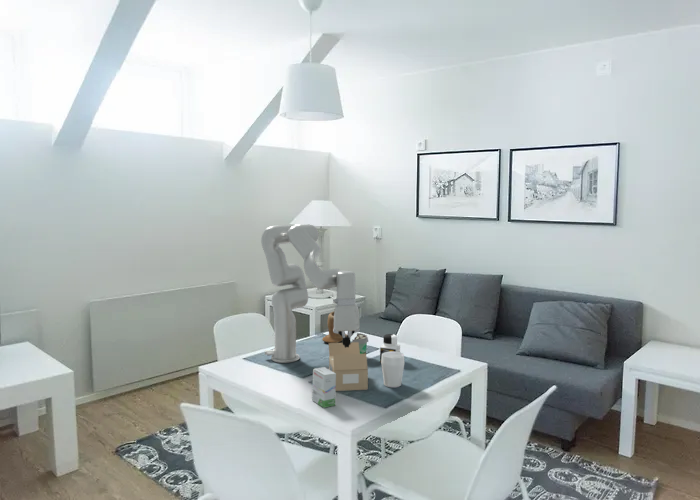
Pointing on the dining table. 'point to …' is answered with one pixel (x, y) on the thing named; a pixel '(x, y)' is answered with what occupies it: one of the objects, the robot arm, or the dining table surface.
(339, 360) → the near flap
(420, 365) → the dining table surface
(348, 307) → the robot arm
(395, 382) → the cup
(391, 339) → the medicine bottle
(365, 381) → the carton
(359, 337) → the food container
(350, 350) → the far flap
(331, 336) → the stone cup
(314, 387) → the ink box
